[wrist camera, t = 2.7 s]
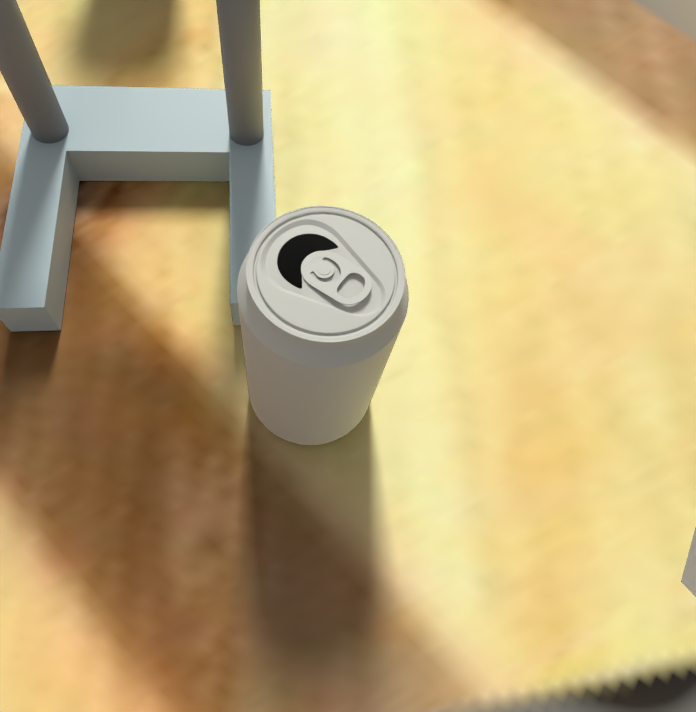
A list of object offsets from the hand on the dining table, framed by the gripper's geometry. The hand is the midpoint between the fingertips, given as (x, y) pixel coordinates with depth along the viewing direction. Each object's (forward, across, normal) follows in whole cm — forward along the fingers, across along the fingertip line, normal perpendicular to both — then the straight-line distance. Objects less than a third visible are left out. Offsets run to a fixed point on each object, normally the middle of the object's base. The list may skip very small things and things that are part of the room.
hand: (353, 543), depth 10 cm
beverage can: (+21, +1, -6) cm, 22 cm away
